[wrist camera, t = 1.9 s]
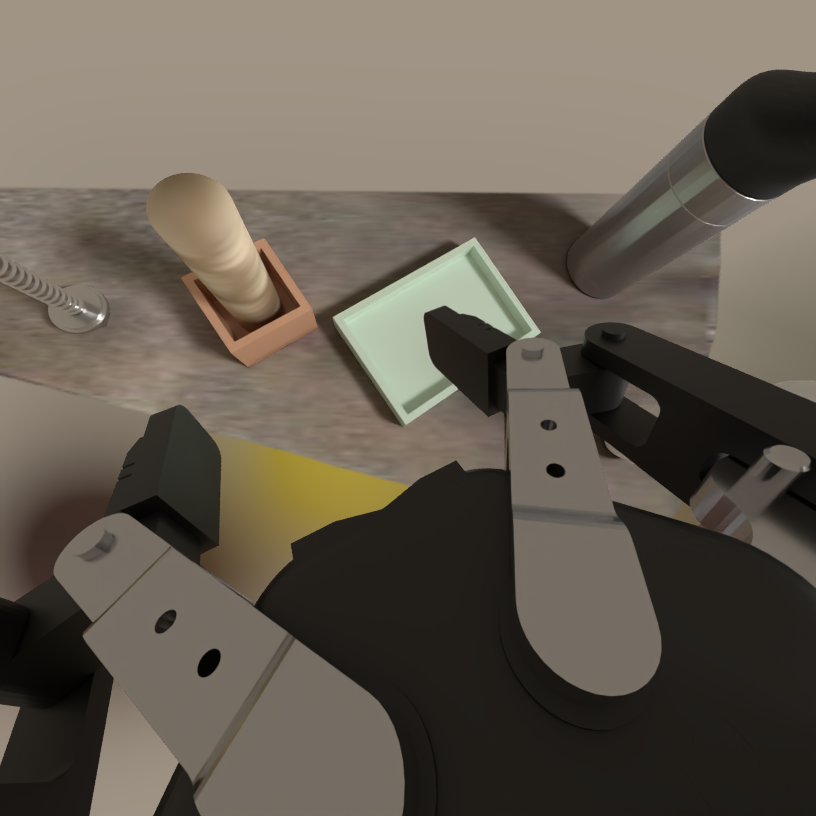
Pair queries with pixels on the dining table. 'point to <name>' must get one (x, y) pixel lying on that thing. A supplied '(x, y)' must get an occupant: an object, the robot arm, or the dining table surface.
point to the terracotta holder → (269, 336)
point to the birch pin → (215, 246)
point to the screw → (59, 298)
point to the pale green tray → (405, 331)
